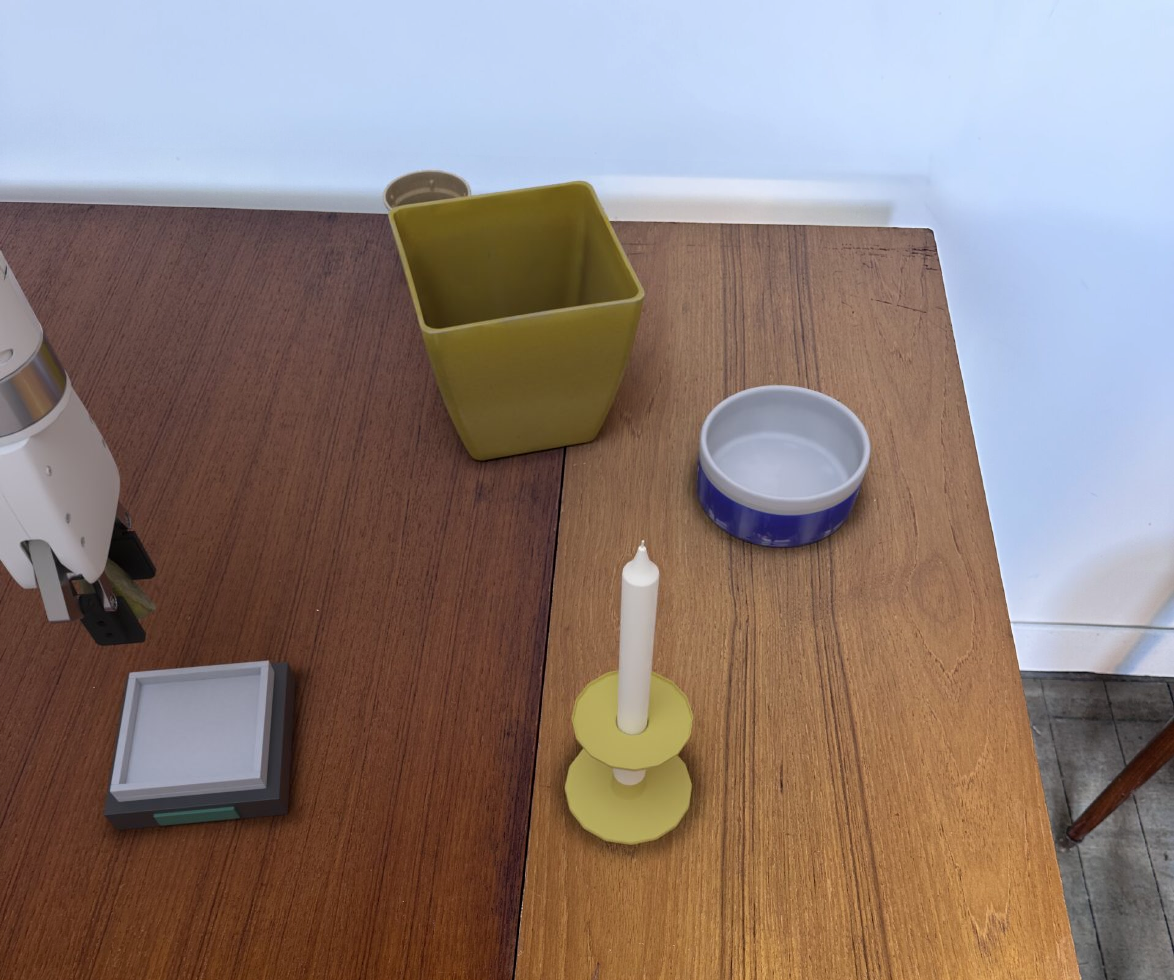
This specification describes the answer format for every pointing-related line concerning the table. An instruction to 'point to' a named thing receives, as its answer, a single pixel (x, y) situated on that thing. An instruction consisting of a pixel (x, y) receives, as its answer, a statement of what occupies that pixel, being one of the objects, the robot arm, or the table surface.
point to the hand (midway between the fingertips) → (127, 606)
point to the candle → (631, 731)
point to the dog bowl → (781, 465)
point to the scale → (202, 745)
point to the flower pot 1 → (424, 188)
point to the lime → (123, 589)
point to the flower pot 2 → (521, 312)
